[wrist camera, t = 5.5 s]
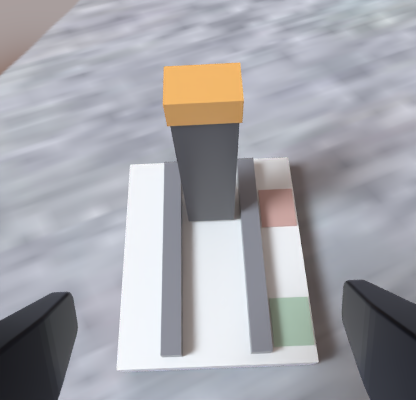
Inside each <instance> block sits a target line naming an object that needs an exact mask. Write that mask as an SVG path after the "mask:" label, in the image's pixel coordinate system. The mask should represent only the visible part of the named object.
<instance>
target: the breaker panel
mask: <svg viewBox="0 0 416 400" xmlns="http://www.w3.org/2000/svg"><path fill="white" fill-rule="evenodd" d="M318 362H319V360H318V354H317V347H316V340H315V334H314V327H313V320H312V314H311V307H310V300H309V293H308V287H307V280H306V273H305V267H304V260H303V253H302V247H301V240H300V233H299V226H298V220H297V213H296V206H295V200H294V193H293V186H292V180H291V173H290V166H289V159H288V157H284V158H263V159H253V158H240V159H237V172H236V190H235V208H234V219H233V220H211V221H189V220H188V215H187V210H186V204H185V199H184V194H183V189H182V184H181V178H180V173H179V168H178V163H177V162H164V163H157V164H136V165H130V175H129V190H128V205H127V221H126V236H125V251H124V266H123V281H122V296H121V311H120V326H119V341H118V356H117V370H118V371H121V372H140V371H166V370H192V369H217V368H243V367H269V366H295V365H313V364H316V363H318Z"/></svg>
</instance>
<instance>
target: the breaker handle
mask: <svg viewBox="0 0 416 400" xmlns="http://www.w3.org/2000/svg"><path fill="white" fill-rule="evenodd" d="M243 104H244V99H243V88H242V78H241V67H240V63H225V64H205V65H185V66H166V67H164V80H163V108H164V113H165V117H166V122H167V126H170V127H171V132H172V137H173V142H174V147H175V153H176V158H177V163H178V168H179V173H180V178H181V184H182V189H183V194H184V199H185V204H186V210H187V215H188V220H189V221H211V220H233V219H234V208H235V190H236V172H237V154H238V136H239V123H242V119H243Z"/></svg>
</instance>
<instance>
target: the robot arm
mask: <svg viewBox="0 0 416 400" xmlns="http://www.w3.org/2000/svg"><path fill="white" fill-rule="evenodd" d="M342 320H343V324H344V328H345V331H346V334H347V337H348V340H349V343H350V346H351V349H352V352H353V355H354V358H355V361H356V364H357V367H358V370H359V373H360V376H361V378H362V381H363V384H364V386H365V389H366V391H367V393H368V395H369V398H370V400H416V304H414V303H412V302H410V301H408V300H405V299H403V298H401V297H399V296H397V295H395V294H393V293H391V292H388V291H386V290H384V289H382V288H380V287H378V286H376V285H374V284H372V283H369V282H367V281H365V280H348V281H346V282H345V283H344V287H343V301H342ZM77 330H78V324H77V317H76V312H75V306H74V300H73V296H72V294H71V293H70V292H54V293H50V294H49V295H47V296H45V297H43V298H41V299H39V300H38V301H36V302H34V303H32V304H30V305H28V306H26V307H25V308H23V309H21V310H19V311H17V312H15V313H14V314H12V315H10V316H8V317H6V318H4V319H2V320H1V321H0V400H58V397H59V395H60V391H61V388H62V385H63V381H64V378H65V374H66V371H67V367H68V364H69V360H70V357H71V353H72V349H73V346H74V342H75V339H76V335H77Z"/></svg>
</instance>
